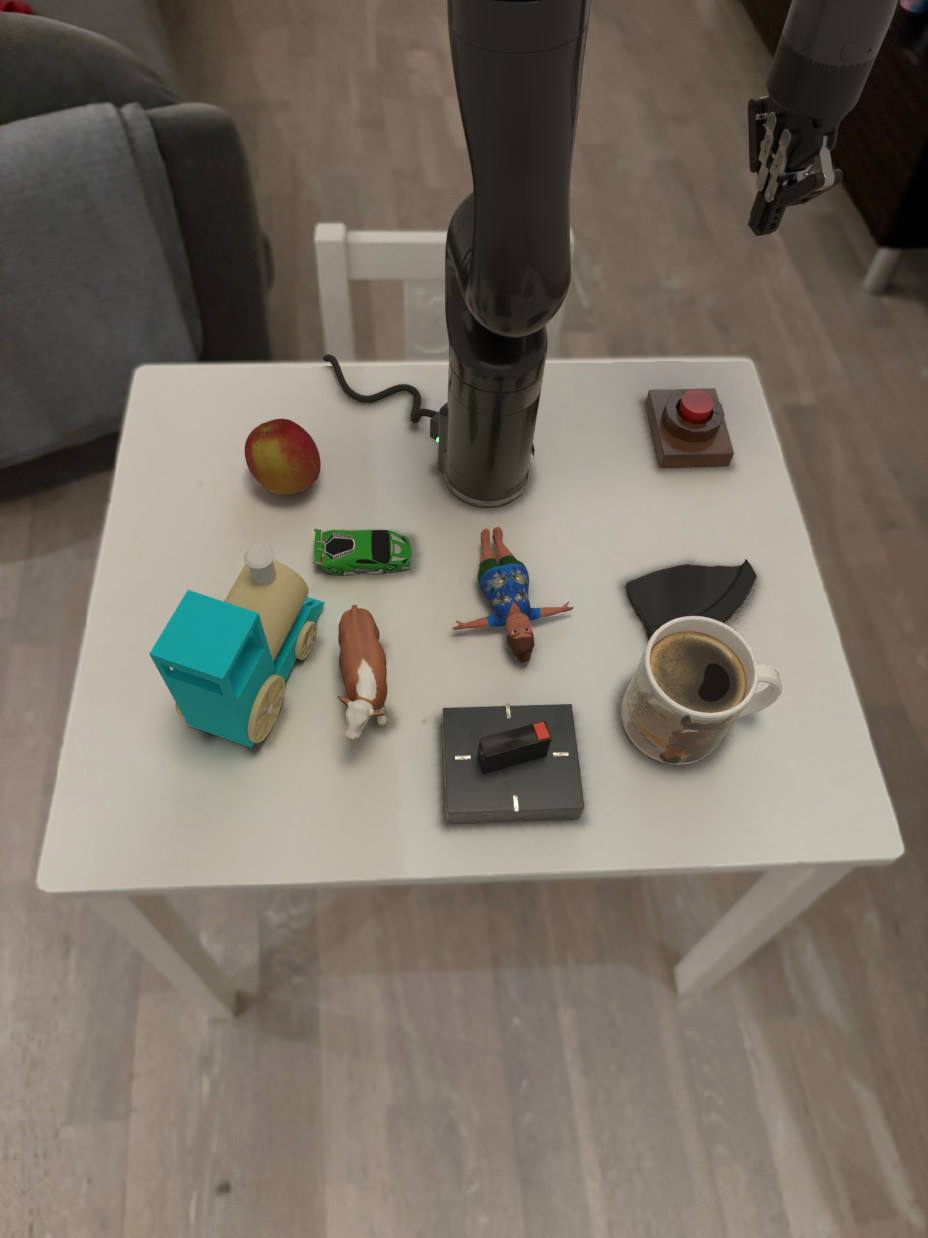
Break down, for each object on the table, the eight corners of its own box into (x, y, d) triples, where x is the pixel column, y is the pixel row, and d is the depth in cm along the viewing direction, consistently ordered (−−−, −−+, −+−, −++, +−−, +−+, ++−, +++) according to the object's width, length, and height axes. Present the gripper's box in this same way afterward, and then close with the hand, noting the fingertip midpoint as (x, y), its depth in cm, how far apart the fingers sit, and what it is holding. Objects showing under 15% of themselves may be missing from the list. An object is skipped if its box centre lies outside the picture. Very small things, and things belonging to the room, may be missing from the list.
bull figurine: (343, 764, 83) (336, 729, 76) (341, 637, 90) (334, 593, 83) (391, 761, 83) (388, 725, 76) (386, 634, 90) (382, 591, 83)
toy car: (410, 536, 96) (410, 523, 94) (412, 573, 94) (412, 561, 92) (316, 539, 95) (313, 526, 94) (315, 576, 93) (313, 564, 91)
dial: (483, 774, 80) (486, 756, 76) (476, 756, 81) (479, 737, 77) (546, 756, 81) (552, 737, 77) (539, 738, 82) (545, 719, 78)
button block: (728, 466, 103) (739, 442, 99) (659, 468, 102) (668, 444, 99) (710, 401, 108) (720, 376, 104) (644, 402, 107) (652, 377, 104)
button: (712, 423, 101) (717, 412, 100) (681, 424, 101) (685, 413, 100) (706, 399, 103) (710, 388, 102) (675, 400, 103) (679, 389, 101)
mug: (655, 649, 90) (682, 590, 81) (763, 714, 87) (805, 661, 78) (601, 727, 86) (624, 675, 76) (713, 799, 83) (752, 753, 73)
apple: (311, 446, 102) (303, 395, 95) (331, 500, 98) (324, 451, 91) (244, 462, 100) (231, 412, 93) (262, 518, 97) (250, 470, 90)
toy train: (332, 609, 91) (318, 520, 78) (261, 754, 83) (231, 682, 70) (261, 586, 92) (235, 494, 79) (183, 727, 84) (140, 650, 71)
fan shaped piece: (774, 618, 93) (779, 610, 91) (654, 652, 90) (657, 644, 89) (737, 553, 97) (742, 545, 95) (621, 584, 94) (624, 576, 93)
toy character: (551, 509, 93) (592, 633, 86) (546, 536, 97) (585, 657, 90) (432, 527, 91) (464, 655, 84) (431, 554, 95) (462, 679, 88)
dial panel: (446, 825, 80) (447, 813, 78) (441, 719, 86) (442, 705, 83) (579, 820, 81) (585, 808, 78) (567, 716, 86) (572, 701, 84)
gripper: (920, 74, 68) (830, 268, 83) (832, -14, 74) (763, 181, 89) (832, 87, 66) (757, 282, 81) (750, -3, 73) (694, 193, 88)
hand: (760, 229), depth 85 cm, fingers closed
